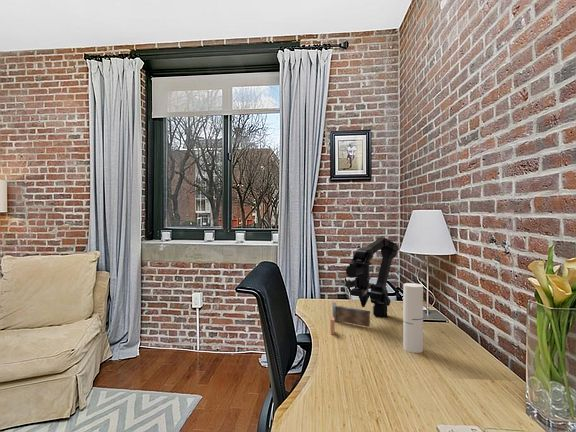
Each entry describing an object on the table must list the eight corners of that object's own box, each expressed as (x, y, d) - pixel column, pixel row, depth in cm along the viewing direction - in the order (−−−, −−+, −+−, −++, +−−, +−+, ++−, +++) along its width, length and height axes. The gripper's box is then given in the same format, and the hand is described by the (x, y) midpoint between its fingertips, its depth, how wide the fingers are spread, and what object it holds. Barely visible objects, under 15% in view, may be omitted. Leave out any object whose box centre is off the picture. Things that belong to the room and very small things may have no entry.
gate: (336, 320, 159) (336, 306, 159) (338, 319, 161) (338, 305, 161) (368, 327, 150) (368, 312, 150) (369, 325, 152) (369, 311, 152)
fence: (335, 315, 169) (335, 301, 169) (340, 334, 142) (340, 317, 142) (328, 315, 170) (328, 300, 170) (330, 334, 143) (330, 317, 143)
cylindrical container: (424, 353, 123) (424, 287, 123) (404, 352, 125) (404, 286, 124) (420, 346, 130) (421, 283, 130) (402, 344, 132) (402, 282, 131)
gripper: (355, 270, 171) (355, 300, 171) (339, 276, 155) (339, 309, 155) (376, 272, 164) (376, 303, 164) (361, 278, 149) (362, 313, 149)
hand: (363, 307), depth 159 cm, fingers closed
